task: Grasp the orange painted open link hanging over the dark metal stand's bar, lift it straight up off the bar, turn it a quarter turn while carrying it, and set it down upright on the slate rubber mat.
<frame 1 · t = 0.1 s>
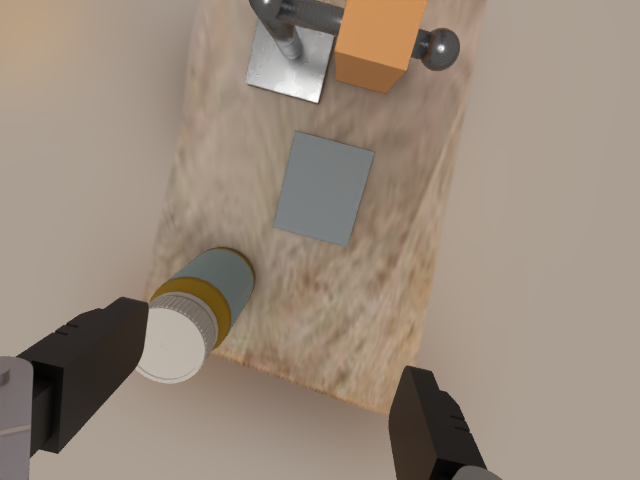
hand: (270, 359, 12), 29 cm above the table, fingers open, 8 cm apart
stand: (293, 51, 36), on the table
link: (367, 62, 33), point 4 cm above the table, touching stand
mat: (322, 190, 39), on the table
bottle: (225, 276, 43), on the table
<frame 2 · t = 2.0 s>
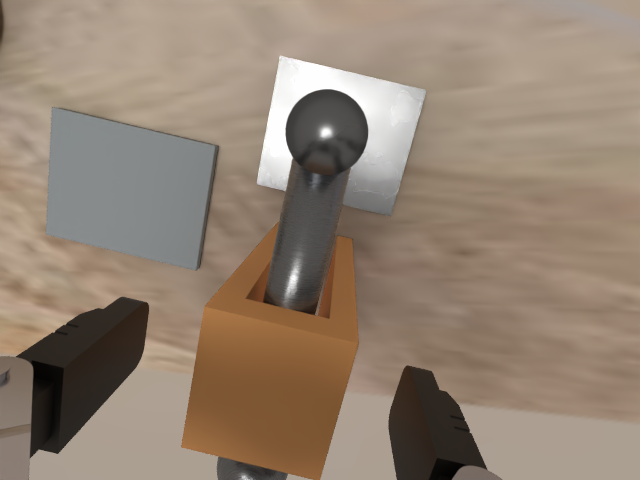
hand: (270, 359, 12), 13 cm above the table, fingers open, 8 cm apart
stand: (338, 139, 23), on the table
link: (306, 268, 21), point 4 cm above the table, touching stand
mat: (132, 191, 24), on the table
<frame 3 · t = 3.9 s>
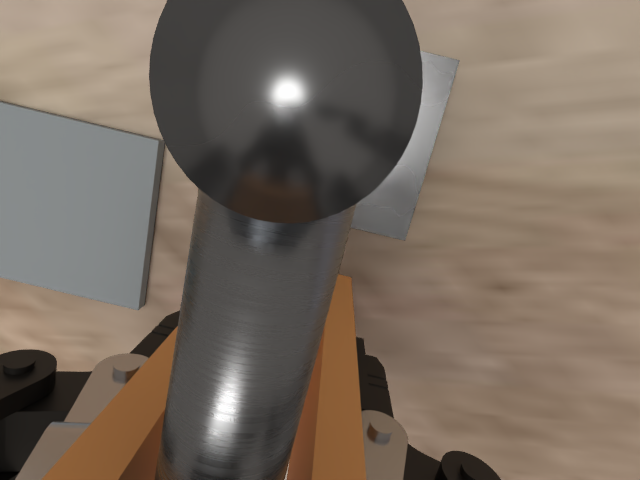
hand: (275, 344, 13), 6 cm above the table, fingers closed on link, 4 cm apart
stand: (331, 132, 16), on the table
link: (285, 318, 14), point 4 cm above the table, touching gripper, stand
mat: (48, 202, 18), on the table
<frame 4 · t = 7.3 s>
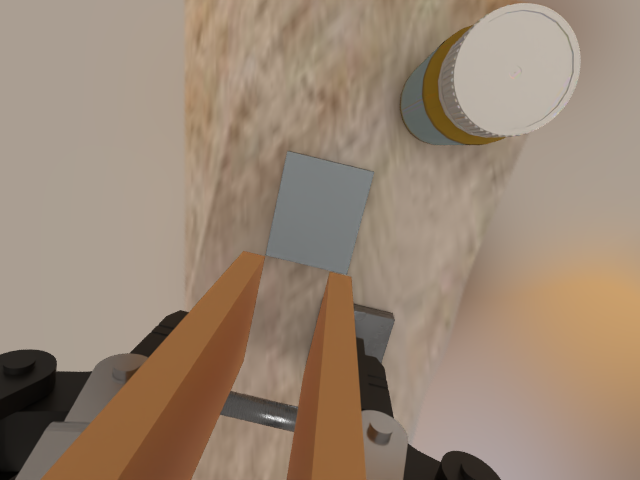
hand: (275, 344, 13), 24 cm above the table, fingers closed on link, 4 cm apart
stand: (348, 340, 39), on the table
link: (285, 318, 14), point 23 cm above the table, touching gripper
mat: (318, 213, 36), on the table
bottle: (438, 103, 34), on the table
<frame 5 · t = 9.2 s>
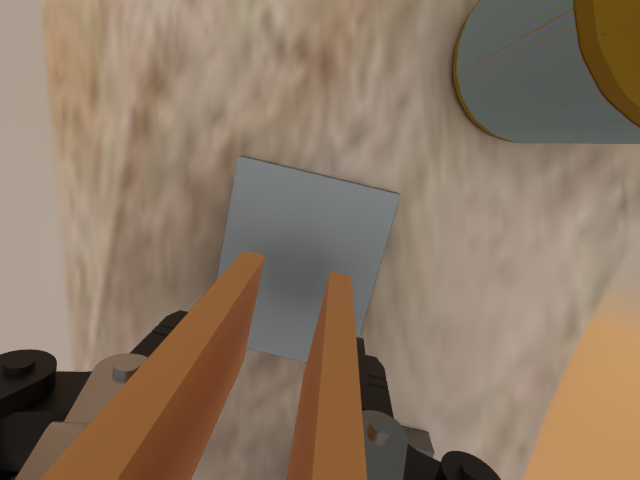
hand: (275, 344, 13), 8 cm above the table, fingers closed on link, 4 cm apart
stand: (352, 472, 23), on the table
link: (285, 317, 14), point 6 cm above the table, touching gripper
mat: (298, 267, 20), on the table
bottle: (525, 64, 18), on the table
when the fingers open (4 cm above the table, at t = 10.8 s): link drops 1 cm, resting on mat.
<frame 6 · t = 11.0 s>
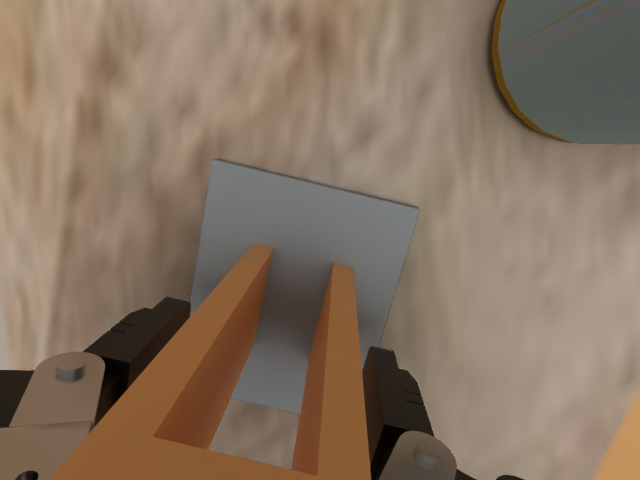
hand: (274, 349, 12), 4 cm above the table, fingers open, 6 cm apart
link: (291, 305, 16), point 1 cm above the table, touching mat
mat: (290, 298, 16), on the table
bottle: (584, 40, 13), on the table
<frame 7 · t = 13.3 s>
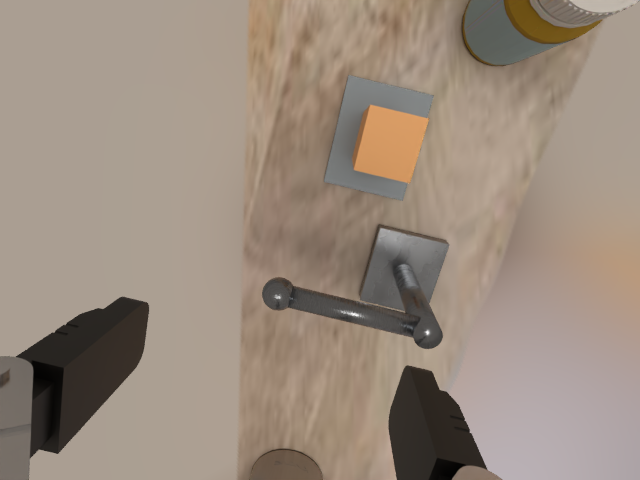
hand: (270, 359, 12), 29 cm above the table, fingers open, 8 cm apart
stand: (401, 268, 41), on the table
link: (378, 140, 37), point 1 cm above the table, touching mat
mat: (376, 140, 37), on the table
bottle: (500, 24, 34), on the table
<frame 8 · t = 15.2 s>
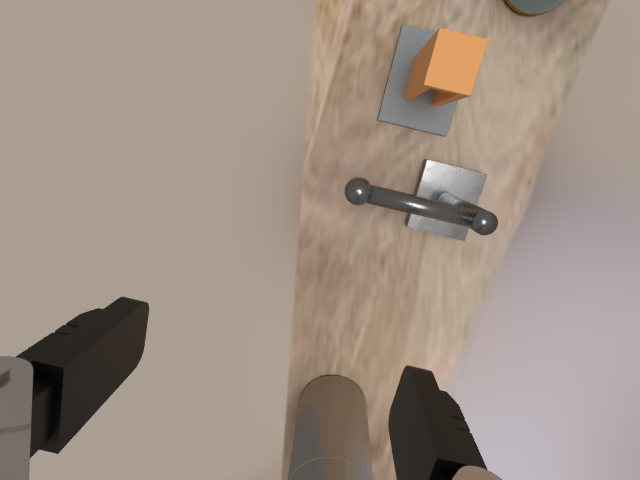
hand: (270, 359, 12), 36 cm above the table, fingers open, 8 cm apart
stand: (443, 199, 46), on the table
link: (426, 82, 42), point 1 cm above the table, touching mat
mat: (424, 82, 43), on the table
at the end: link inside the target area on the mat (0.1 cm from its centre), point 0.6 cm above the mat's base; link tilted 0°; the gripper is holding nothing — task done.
